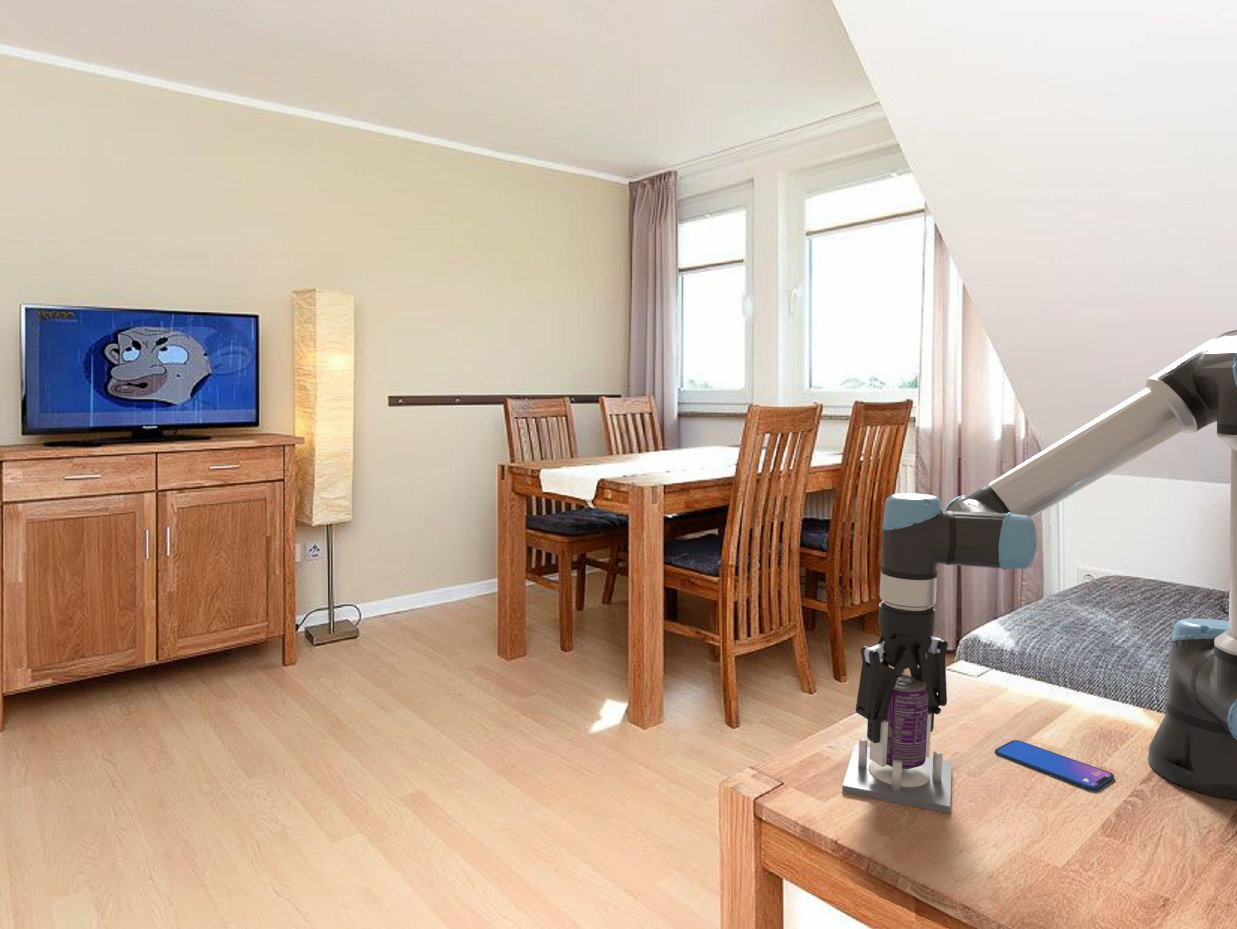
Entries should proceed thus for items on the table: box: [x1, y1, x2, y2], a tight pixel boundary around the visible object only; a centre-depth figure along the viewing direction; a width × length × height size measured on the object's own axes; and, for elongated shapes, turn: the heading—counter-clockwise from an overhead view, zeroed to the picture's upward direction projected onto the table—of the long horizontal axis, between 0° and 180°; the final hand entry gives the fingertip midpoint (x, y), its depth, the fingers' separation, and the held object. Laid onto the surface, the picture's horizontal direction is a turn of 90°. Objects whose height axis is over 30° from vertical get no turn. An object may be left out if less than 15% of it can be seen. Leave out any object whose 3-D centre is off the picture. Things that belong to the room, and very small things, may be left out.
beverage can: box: [875, 673, 929, 769], centre depth 116 cm, size 7×7×12 cm
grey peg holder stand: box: [841, 737, 953, 814], centre depth 117 cm, size 14×14×5 cm
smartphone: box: [994, 739, 1115, 792], centre depth 122 cm, size 7×1×15 cm
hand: (899, 757), depth 117 cm, fingers closed on beverage can, 7 cm apart
